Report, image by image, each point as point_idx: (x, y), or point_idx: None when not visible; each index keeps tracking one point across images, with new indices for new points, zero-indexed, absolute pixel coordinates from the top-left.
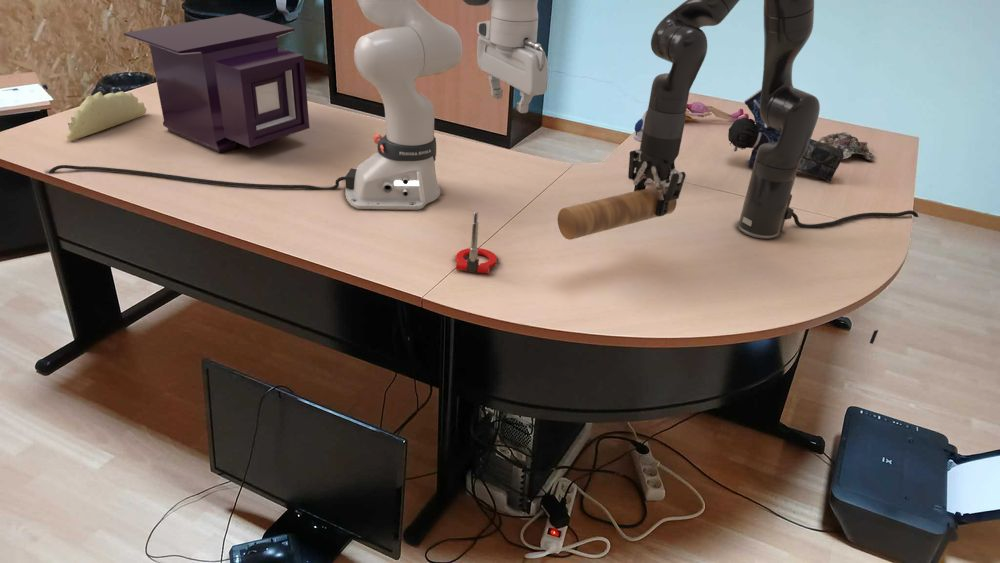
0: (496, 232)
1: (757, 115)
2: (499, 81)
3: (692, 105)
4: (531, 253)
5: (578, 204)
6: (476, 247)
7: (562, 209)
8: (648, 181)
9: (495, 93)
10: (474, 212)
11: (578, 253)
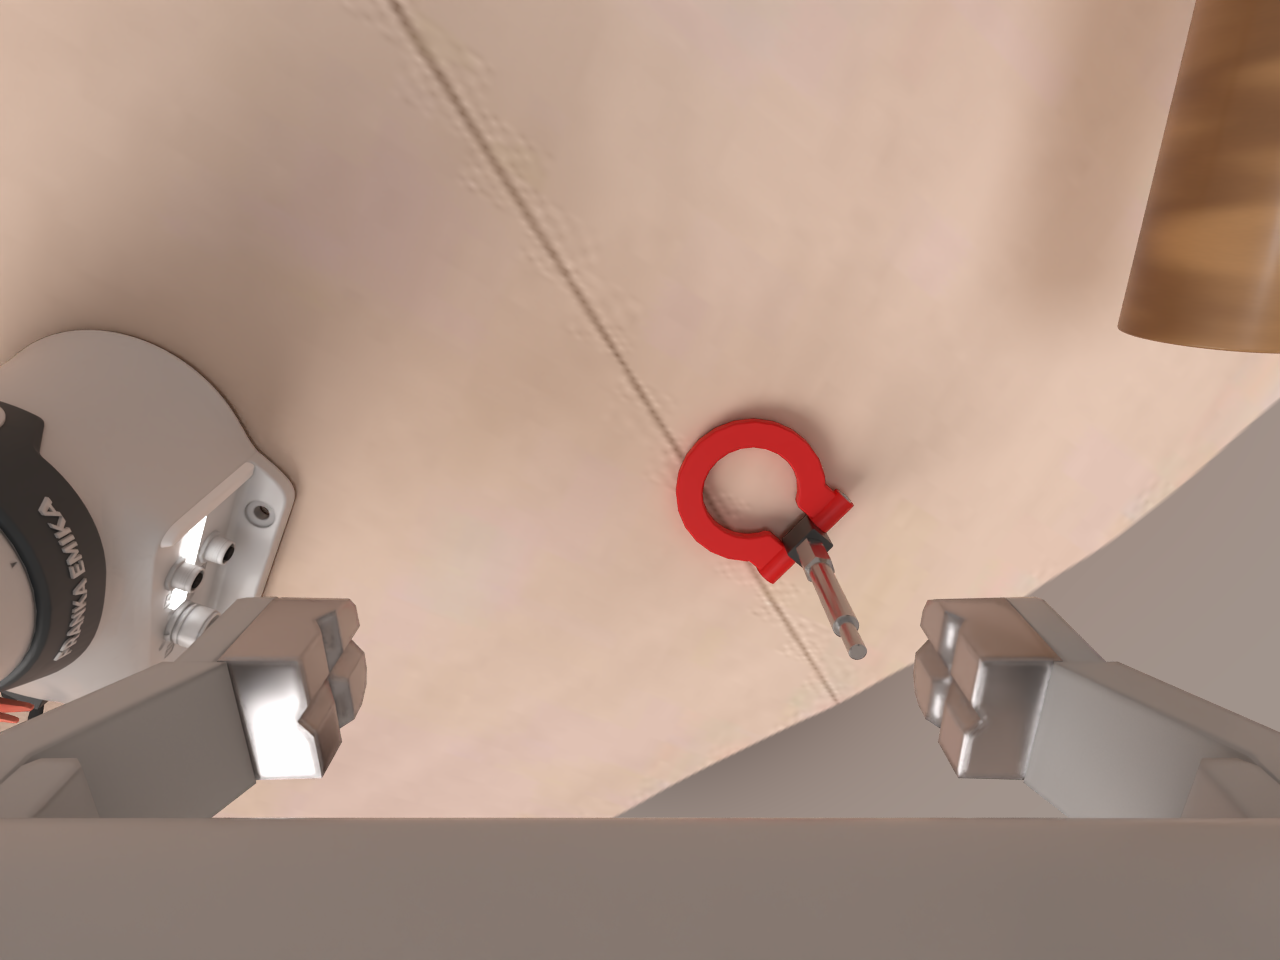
0: (583, 301)
1: None
2: (96, 729)
3: None
4: (799, 263)
5: (1271, 237)
6: (831, 569)
7: (1213, 347)
8: None
9: (338, 739)
10: (852, 657)
11: (907, 61)
